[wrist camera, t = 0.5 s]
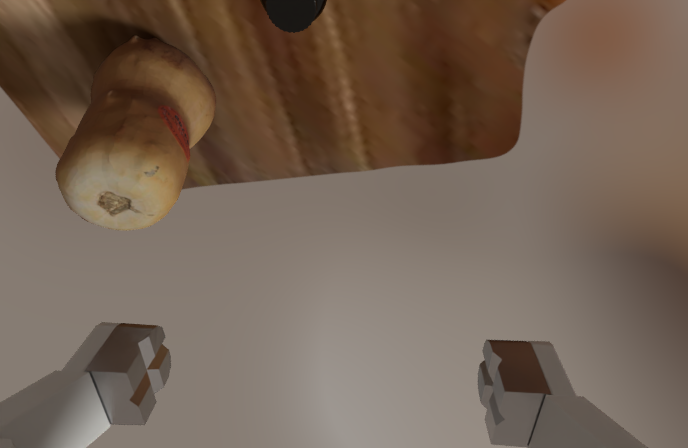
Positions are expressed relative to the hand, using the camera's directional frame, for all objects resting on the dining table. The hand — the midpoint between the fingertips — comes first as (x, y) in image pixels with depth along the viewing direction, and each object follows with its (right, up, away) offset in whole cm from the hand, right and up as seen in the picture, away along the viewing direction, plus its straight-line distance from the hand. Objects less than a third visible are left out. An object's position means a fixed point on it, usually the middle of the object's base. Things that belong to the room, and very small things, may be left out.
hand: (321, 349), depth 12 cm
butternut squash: (-22, +23, +48) cm, 58 cm away
